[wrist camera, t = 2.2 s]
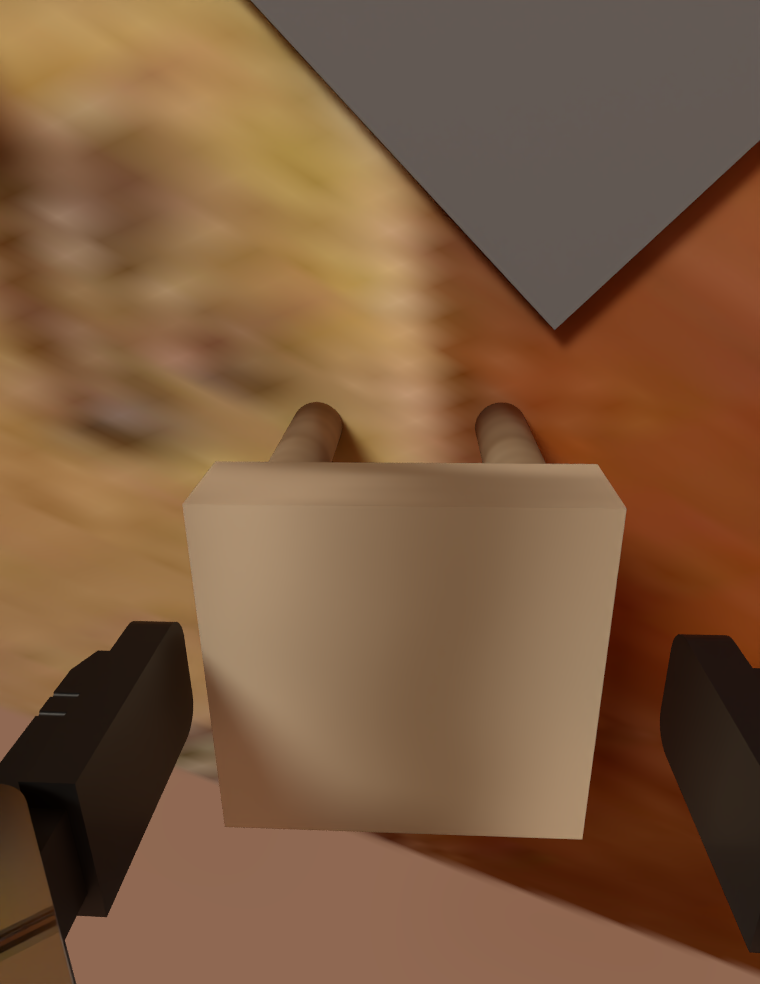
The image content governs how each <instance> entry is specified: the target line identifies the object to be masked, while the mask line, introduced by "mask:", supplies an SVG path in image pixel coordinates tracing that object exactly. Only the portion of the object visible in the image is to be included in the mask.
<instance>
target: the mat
mask: <svg viewBox="0 0 760 984" xmlns="http://www.w3.org/2000/svg"><path fill="white" fill-rule="evenodd" d="M251 2H252V3H253V4H254V5H255V6H256V7H257V8H258V9H259V10H260V11H261V12H262V13H263V15H264V16H265V17H266V18H267V19H268V20H269V21H270V22H271V23H272V24H273V25H274V26H275V28H276V29H277V30H278V31H279V32H280V33H281V34H282V35H283V36H284V37H285V38H286V39H287V41H288V42H289V43H290V44H291V45H292V46H293V47H294V48H295V49H296V50H297V51H298V52H299V54H300V55H301V56H302V57H303V58H304V59H305V60H306V61H307V62H308V63H309V64H310V66H311V67H312V68H313V69H314V70H315V71H316V72H317V73H318V74H319V75H320V76H321V77H322V79H323V80H324V81H325V82H326V83H327V84H328V85H329V86H330V87H331V88H332V89H333V90H334V92H335V93H336V94H337V95H338V96H339V97H340V98H341V99H342V100H343V101H344V102H345V103H346V105H347V106H348V107H349V108H350V109H351V110H352V111H353V112H354V113H355V114H356V115H357V116H358V118H359V119H360V120H361V121H362V122H363V123H364V124H365V125H366V126H367V127H368V128H369V129H370V131H371V132H372V133H373V134H374V135H375V136H376V137H377V138H378V139H379V140H380V141H381V143H382V144H383V145H384V146H385V147H386V148H387V149H388V150H389V151H390V152H391V153H392V154H393V156H394V157H395V158H396V159H397V160H398V161H399V162H400V163H401V164H402V165H403V166H404V167H405V169H406V170H407V171H408V172H409V173H410V174H411V175H412V176H413V177H414V178H415V179H416V180H417V182H418V183H419V184H420V185H421V186H422V187H423V188H424V189H425V190H426V191H427V192H428V193H429V195H430V196H431V197H432V198H433V199H434V200H435V201H436V202H437V203H438V204H439V205H440V206H441V208H442V209H443V210H444V211H445V212H446V213H447V214H448V215H449V216H450V217H451V218H452V220H453V221H454V222H455V223H456V224H457V225H458V226H459V227H460V228H461V229H462V230H463V231H464V233H465V234H466V235H467V236H468V237H469V238H470V239H471V240H472V241H473V242H474V243H475V244H476V246H477V247H478V248H479V249H480V250H481V251H482V252H483V253H484V254H485V255H486V256H487V257H488V259H489V260H490V261H491V262H492V263H493V264H494V265H495V266H496V267H497V268H498V269H499V270H500V272H501V273H502V274H503V275H504V276H505V277H506V278H507V279H508V280H509V281H510V282H511V284H512V285H513V286H514V287H515V288H516V289H517V290H518V291H519V292H520V293H521V294H522V295H523V297H524V298H525V299H526V300H527V301H528V302H529V303H530V304H531V305H532V306H533V307H534V308H535V310H536V311H537V312H538V313H539V314H540V315H541V316H542V317H543V318H544V319H545V320H546V321H547V323H548V324H549V325H550V326H551V327H552V328H553V329H554V330H555V329H556V328H557V327H558V326H560V325H561V324H562V323H563V322H564V321H565V320H566V319H567V318H568V317H569V316H570V315H571V314H573V313H574V312H575V311H576V310H577V309H578V308H579V307H580V306H581V305H582V304H583V303H584V302H585V301H587V300H588V299H589V298H590V297H591V296H592V295H593V294H594V293H595V292H596V291H597V290H598V289H600V288H601V287H602V286H603V285H604V284H605V283H606V282H607V281H608V280H609V279H610V278H611V277H612V276H614V275H615V274H616V273H617V272H618V271H619V270H620V269H621V268H622V267H623V266H624V265H625V264H626V263H628V262H629V261H630V260H631V259H632V258H633V257H634V256H635V255H636V254H637V253H638V252H639V251H641V250H642V249H643V248H644V247H645V246H646V245H647V244H648V243H649V242H650V241H651V240H652V239H653V238H655V237H656V236H657V235H658V234H659V233H660V232H661V231H662V230H663V229H664V228H665V227H666V226H668V225H669V224H670V223H671V222H672V221H673V220H674V219H675V218H676V217H677V216H678V215H679V214H680V213H682V212H683V211H684V210H685V209H686V208H687V207H688V206H689V205H690V204H691V203H692V202H693V201H695V200H696V199H697V198H698V197H699V196H700V195H701V194H702V193H703V192H704V191H705V190H706V189H707V188H709V187H710V186H711V185H712V184H713V183H714V182H715V181H716V180H717V179H718V178H719V177H720V176H721V175H723V174H724V173H725V172H726V171H727V170H728V169H729V168H730V167H731V166H732V165H733V164H734V163H736V162H737V161H738V160H739V159H740V158H741V157H742V156H743V155H744V154H745V153H746V152H747V151H748V150H750V149H751V148H752V147H753V146H754V145H755V144H756V143H757V142H758V141H759V140H760V0H251Z"/></svg>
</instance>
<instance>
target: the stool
mask: <svg viewBox="0 0 760 984" xmlns="http://www.w3.org/2000/svg"><path fill="white" fill-rule="evenodd" d="M475 431H476V436H477V440H478V445H479V449H480V453H481V458H482V462H483V463H345V462H332V460H333V457H334V454H335V451H336V448H337V445H338V442H339V439H340V436H341V433H342V421H341V418H340V416H339V414H338V413H337V412H336V411H335V409H333V408H332V407H331V406H329V405H327V404H324V403H320V402H313V403H309V404H306V405H304V406H303V407H301V408H300V409H299V410H298V411H297V413H296V414H295V416H294V418H293V420H292V421H291V423H290V425H289V427H288V428H287V430H286V432H285V434H284V435H283V437H282V439H281V441H280V442H279V444H278V446H277V448H276V449H275V451H274V453H273V455H272V456H271V458H270V460H269V462H215V463H214V464H213V465H212V467H211V468H210V469H209V470H208V472H207V473H206V474H205V476H204V477H203V478H202V480H201V481H200V482H199V483H198V485H197V486H196V487H195V489H194V490H193V491H192V492H191V494H190V495H189V496H188V498H187V499H186V500H185V502H184V503H183V512H184V520H185V527H186V535H187V542H188V550H189V558H190V565H191V573H192V580H193V588H194V596H195V603H196V611H197V618H198V626H199V634H200V641H201V649H202V656H203V664H204V672H205V679H206V687H207V694H208V702H209V710H210V717H211V725H212V732H213V740H214V748H215V755H216V763H217V771H218V778H219V786H220V793H221V801H222V809H223V816H224V823H225V827H243V828H245V827H246V828H272V829H300V830H330V831H357V832H386V833H414V834H443V835H471V836H500V837H528V838H557V839H582V837H583V830H584V822H585V815H586V807H587V800H588V793H589V785H590V778H591V770H592V763H593V755H594V748H595V740H596V733H597V725H598V718H599V710H600V703H601V695H602V688H603V680H604V673H605V666H606V658H607V651H608V643H609V636H610V628H611V621H612V613H613V606H614V598H615V591H616V583H617V576H618V568H619V561H620V553H621V546H622V538H623V531H624V524H625V516H626V507H625V506H624V504H623V503H622V501H621V500H620V498H619V497H618V495H617V493H616V492H615V490H614V489H613V487H612V486H611V484H610V483H609V481H608V480H607V478H606V477H605V475H604V474H603V472H602V471H601V469H600V468H599V466H598V465H597V464H546V463H545V461H544V459H543V456H542V454H541V452H540V450H539V448H538V446H537V443H536V441H535V439H534V437H533V435H532V433H531V431H530V428H529V426H528V424H527V422H526V420H525V418H524V416H523V414H522V412H521V411H520V410H519V409H518V408H517V407H515V406H513V405H511V404H508V403H495V404H492V405H490V406H488V407H486V408H485V409H484V410H483V411H482V412H481V413H480V414H479V416H478V418H477V420H476V424H475Z"/></svg>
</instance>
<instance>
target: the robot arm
mask: <svg viewBox="0 0 760 984" xmlns="http://www.w3.org/2000/svg"><path fill="white" fill-rule="evenodd" d="M192 716H193V695H192V688H191V681H190V674H189V667H188V661H187V654H186V647H185V640H184V634H183V630H182V627H181V625H180V624H179V623H178V622H153V621H133V622H131V623H130V624H129V625H128V626H127V627H126V629H125V630H124V632H123V633H122V634H121V636H120V637H119V639H118V640H117V642H116V643H115V644H114V646H113V647H112V649H111V650H110V651H97V652H95V653H94V654H92V655H91V656H90V657H88V658H87V659H85V660H84V661H82V662H81V663H80V664H78V665H77V666H75V667H74V668H73V669H71V670H70V671H69V673H68V674H67V675H66V677H65V678H64V679H63V681H62V682H61V683H60V685H59V686H58V687H57V689H56V690H55V691H54V695H53V697H50V698H49V699H48V700H47V702H46V703H45V704H44V706H43V707H42V708H41V710H40V711H39V716H35V718H34V719H33V720H32V721H31V723H30V724H29V726H28V727H27V728H26V729H25V731H24V732H23V733H22V735H21V736H20V737H19V739H18V740H17V741H16V743H15V744H14V745H13V747H12V748H11V749H10V750H9V752H8V753H7V754H6V756H5V757H4V759H3V760H2V761H1V762H0V984H76V981H75V977H74V973H73V970H72V966H71V962H70V958H69V954H68V951H67V947H66V943H65V938H66V936H67V934H68V932H69V930H70V928H71V926H72V924H73V922H74V920H75V918H76V916H95V917H107V915H108V913H109V911H110V909H111V906H112V904H113V902H114V900H115V898H116V895H117V893H118V891H119V889H120V886H121V884H122V882H123V880H124V877H125V875H126V873H127V871H128V869H129V866H130V864H131V862H132V859H133V857H134V855H135V853H136V851H137V849H138V846H139V844H140V842H141V840H142V837H143V835H144V833H145V830H146V828H147V826H148V824H149V822H150V819H151V817H152V815H153V813H154V811H155V808H156V806H157V804H158V801H159V799H160V797H161V795H162V793H163V791H164V788H165V786H166V784H167V781H168V779H169V777H170V775H171V773H172V771H173V768H174V766H175V764H176V762H177V759H178V757H179V755H180V753H181V750H182V748H183V746H184V744H185V742H186V739H187V737H188V734H189V731H190V727H191V722H192ZM660 731H661V739H662V744H663V748H664V752H665V754H666V757H667V759H668V762H669V764H670V766H671V769H672V771H673V773H674V776H675V778H676V780H677V783H678V785H679V788H680V790H681V792H682V795H683V797H684V799H685V802H686V804H687V806H688V809H689V811H690V813H691V816H692V818H693V821H694V823H695V825H696V828H697V830H698V832H699V835H700V837H701V839H702V842H703V844H704V846H705V849H706V851H707V854H708V856H709V858H710V861H711V863H712V865H713V868H714V870H715V872H716V875H717V877H718V879H719V882H720V884H721V886H722V889H723V891H724V894H725V896H726V898H727V901H728V903H729V905H730V908H731V910H732V912H733V915H734V917H735V919H736V922H737V924H738V927H739V929H740V931H741V934H742V936H743V938H744V941H745V943H746V945H747V948H748V950H749V952H753V953H760V668H752V667H751V665H750V664H749V662H748V661H747V660H746V658H745V657H744V655H743V654H742V652H741V651H740V649H739V648H738V646H737V645H736V644H735V642H734V641H733V640H732V638H731V637H729V636H727V635H686V634H678V635H677V636H676V637H675V638H674V640H673V643H672V647H671V653H670V659H669V665H668V671H667V677H666V683H665V689H664V695H663V701H662V706H661V713H660Z"/></svg>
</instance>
